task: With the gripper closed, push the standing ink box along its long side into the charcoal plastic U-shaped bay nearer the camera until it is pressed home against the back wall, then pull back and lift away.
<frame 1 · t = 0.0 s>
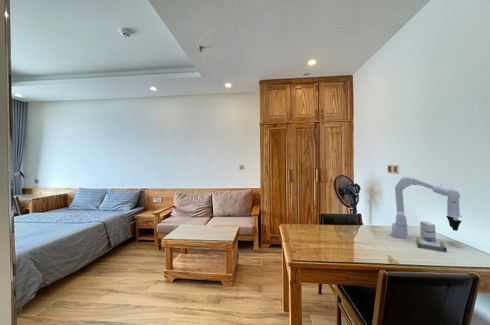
hand: (453, 228, 141), 10 cm above the table, tool pointing down, fingers open, 7 cm apart
bay: (430, 246, 138), on the table
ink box: (427, 239, 150), on the table
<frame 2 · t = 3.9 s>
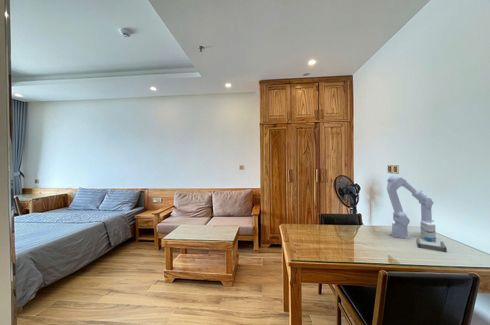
hand: (426, 232, 155), 3 cm above the table, tool pointing down, fingers closed
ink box: (427, 239, 150), on the table, touching gripper
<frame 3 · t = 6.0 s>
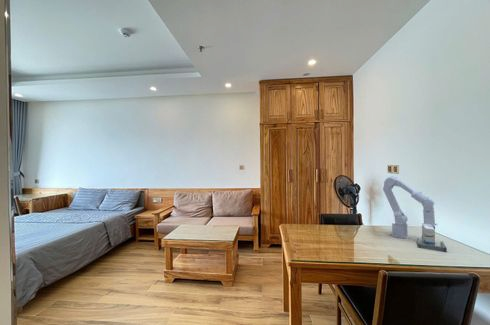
hand: (430, 236, 145), 3 cm above the table, tool pointing down, fingers closed, pressing on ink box
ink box: (428, 243, 143), on the table, touching gripper
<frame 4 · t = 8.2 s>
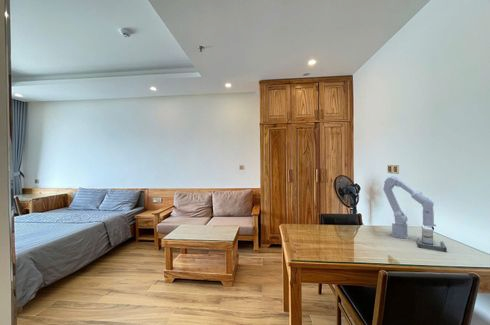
hand: (428, 237, 146), 3 cm above the table, tool pointing down, fingers closed
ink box: (427, 245, 140), on the table
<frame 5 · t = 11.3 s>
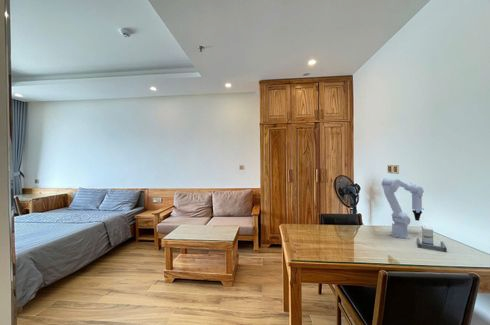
hand: (417, 220, 161), 10 cm above the table, tool pointing down, fingers closed
nothing on the table moved.
at the end: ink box inside the target area on the bay (1.6 cm from its centre), point 0.0 cm above the bay's base; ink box tilted 0°; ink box moved 12.9 cm from its start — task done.
